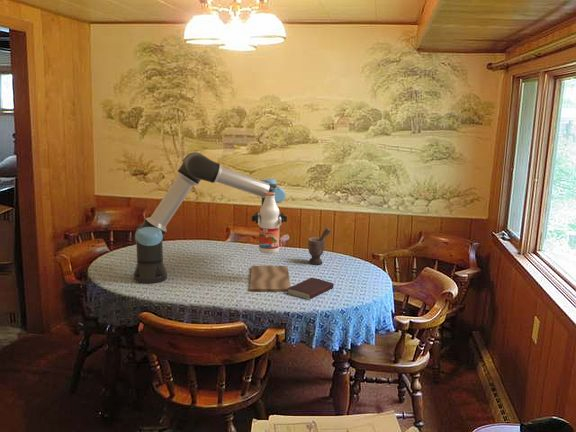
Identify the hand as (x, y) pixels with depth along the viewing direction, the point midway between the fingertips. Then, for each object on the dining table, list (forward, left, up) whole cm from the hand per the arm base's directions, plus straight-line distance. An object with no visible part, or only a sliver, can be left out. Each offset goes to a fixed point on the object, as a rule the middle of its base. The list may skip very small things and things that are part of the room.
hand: (269, 222), depth 244 cm
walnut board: (+1, +4, -28) cm, 29 cm away
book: (+19, -12, -29) cm, 37 cm away
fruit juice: (0, +4, -15) cm, 16 cm away
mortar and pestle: (+27, +31, -29) cm, 50 cm away
